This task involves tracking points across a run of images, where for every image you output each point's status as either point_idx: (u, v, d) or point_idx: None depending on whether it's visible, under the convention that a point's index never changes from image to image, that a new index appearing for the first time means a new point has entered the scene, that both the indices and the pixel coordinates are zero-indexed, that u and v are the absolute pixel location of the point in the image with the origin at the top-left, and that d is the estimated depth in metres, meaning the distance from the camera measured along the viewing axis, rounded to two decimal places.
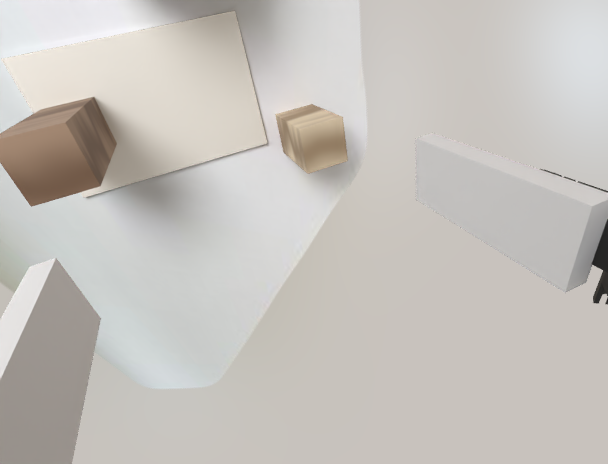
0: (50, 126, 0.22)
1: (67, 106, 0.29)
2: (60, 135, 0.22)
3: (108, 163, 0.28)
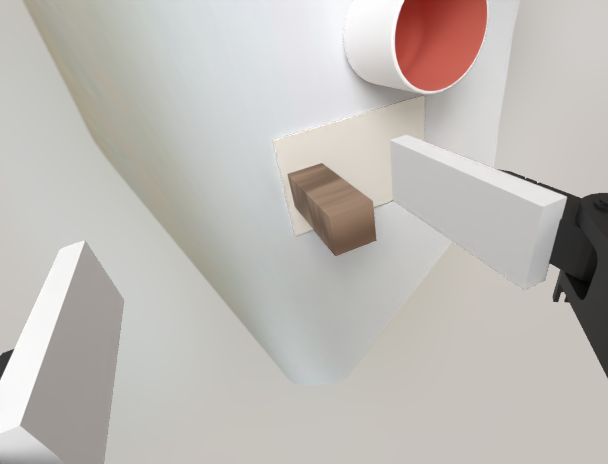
0: (363, 204, 0.32)
1: (318, 175, 0.39)
2: (367, 209, 0.32)
3: None
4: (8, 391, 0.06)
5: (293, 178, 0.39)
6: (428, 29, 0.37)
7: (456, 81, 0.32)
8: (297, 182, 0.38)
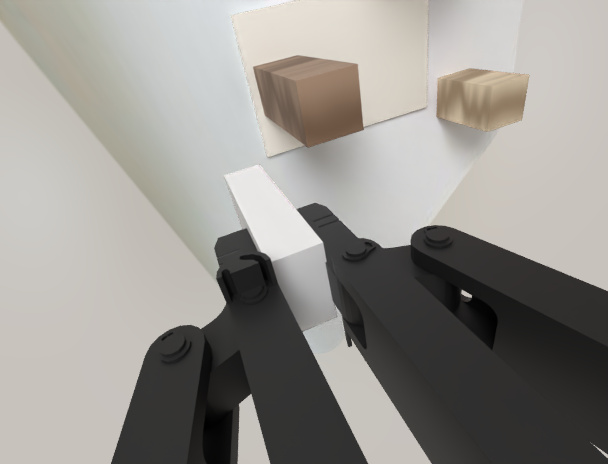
0: (345, 67, 0.23)
1: (291, 61, 0.30)
2: (350, 76, 0.23)
3: None
4: (267, 241, 0.09)
5: (259, 67, 0.30)
6: None
7: None
8: (262, 68, 0.29)
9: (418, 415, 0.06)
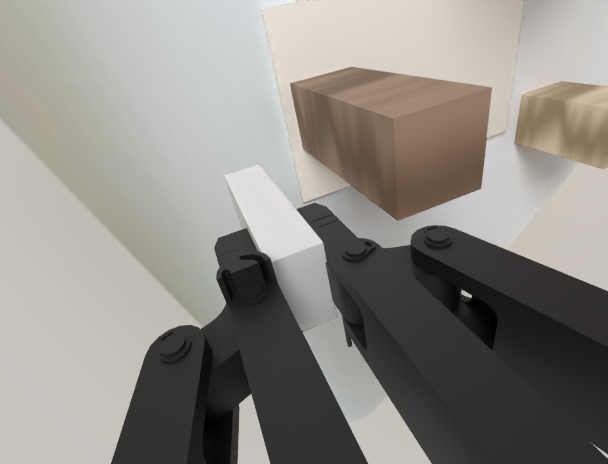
0: (471, 93, 0.13)
1: (349, 76, 0.21)
2: (477, 108, 0.14)
3: None
4: (267, 241, 0.09)
5: (301, 85, 0.21)
6: None
7: None
8: (309, 88, 0.20)
9: (418, 415, 0.06)
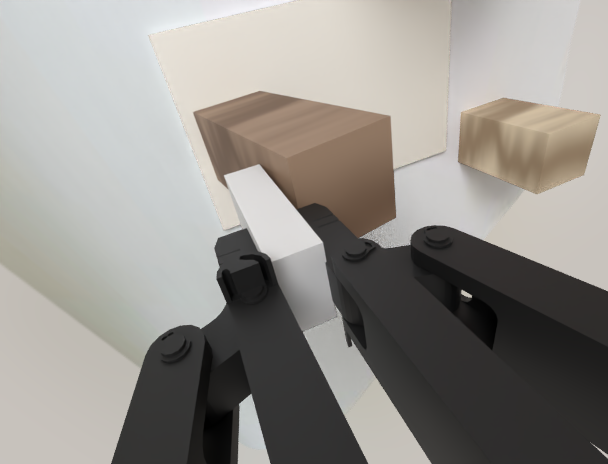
0: (370, 124, 0.13)
1: (254, 103, 0.19)
2: (378, 138, 0.13)
3: None
4: (267, 241, 0.09)
5: (203, 115, 0.19)
6: None
7: None
8: (210, 118, 0.18)
9: (418, 415, 0.06)
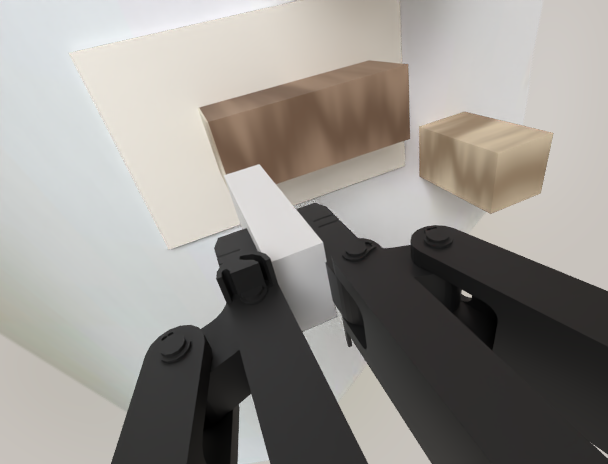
0: (375, 61, 0.23)
1: (250, 98, 0.20)
2: None
3: None
4: (267, 241, 0.09)
5: (239, 112, 0.18)
6: None
7: None
8: (263, 105, 0.18)
9: (418, 415, 0.06)
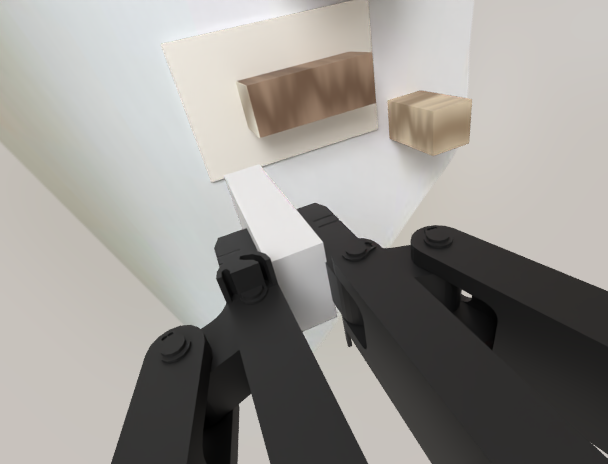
0: (352, 52, 0.34)
1: (270, 74, 0.32)
2: None
3: None
4: (267, 241, 0.09)
5: (265, 80, 0.29)
6: None
7: None
8: (280, 76, 0.30)
9: (418, 415, 0.06)
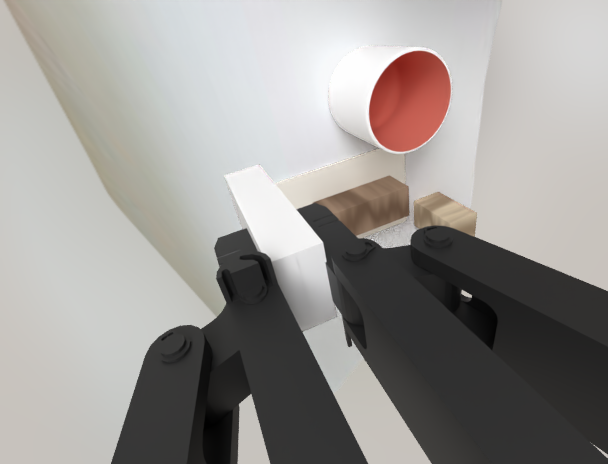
0: (392, 177, 0.48)
1: (337, 200, 0.45)
2: None
3: None
4: (268, 241, 0.09)
5: (337, 211, 0.43)
6: (404, 88, 0.41)
7: (426, 142, 0.37)
8: (347, 208, 0.43)
9: (418, 415, 0.06)
